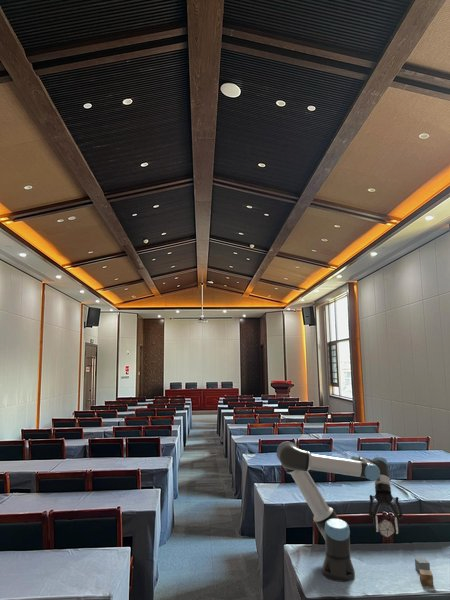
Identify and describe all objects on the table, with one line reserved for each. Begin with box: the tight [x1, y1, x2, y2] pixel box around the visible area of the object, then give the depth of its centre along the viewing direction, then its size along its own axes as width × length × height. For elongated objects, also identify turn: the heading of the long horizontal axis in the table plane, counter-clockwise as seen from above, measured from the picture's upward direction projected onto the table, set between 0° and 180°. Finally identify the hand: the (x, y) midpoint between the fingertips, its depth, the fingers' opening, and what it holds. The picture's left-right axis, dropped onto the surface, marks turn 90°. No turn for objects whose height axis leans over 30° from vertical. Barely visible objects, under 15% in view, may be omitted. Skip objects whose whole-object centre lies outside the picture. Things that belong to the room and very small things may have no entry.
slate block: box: [414, 557, 431, 573], centre depth 217 cm, size 5×5×5 cm
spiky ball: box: [377, 517, 396, 540], centre depth 211 cm, size 9×8×10 cm
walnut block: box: [418, 569, 434, 588], centre depth 205 cm, size 5×5×5 cm
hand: (387, 531), depth 208 cm, fingers closed on spiky ball, 8 cm apart
